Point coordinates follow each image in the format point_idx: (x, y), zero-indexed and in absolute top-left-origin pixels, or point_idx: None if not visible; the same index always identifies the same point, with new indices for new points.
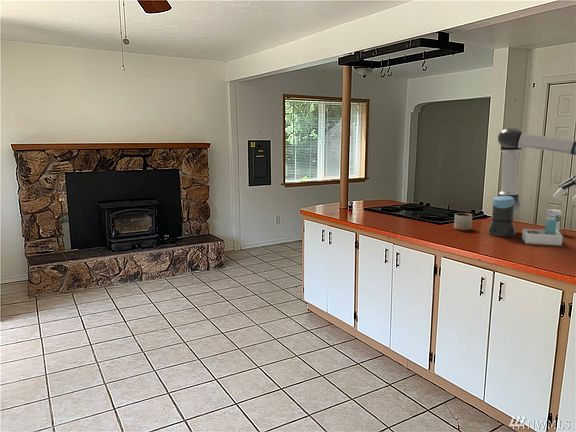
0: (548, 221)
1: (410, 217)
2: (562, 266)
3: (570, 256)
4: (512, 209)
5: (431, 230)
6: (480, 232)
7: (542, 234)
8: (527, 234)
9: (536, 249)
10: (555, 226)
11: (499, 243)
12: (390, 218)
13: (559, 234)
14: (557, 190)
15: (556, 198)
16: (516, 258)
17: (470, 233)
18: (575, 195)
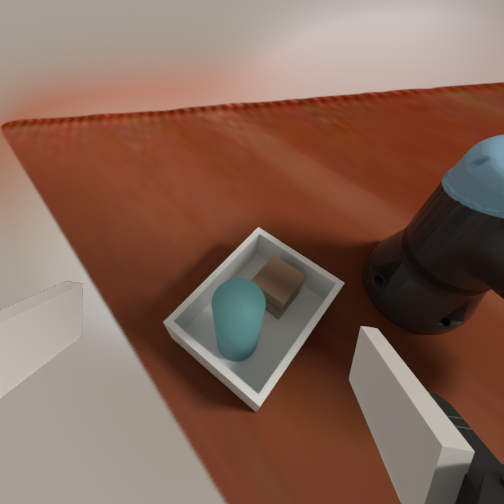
0: (234, 280)
1: None
2: (41, 157)
3: (70, 241)
4: (448, 222)
5: None
6: None
7: (221, 265)
8: (256, 231)
9: (183, 223)
10: (214, 322)
11: (288, 192)
12: None
13: (190, 336)
14: (459, 419)
15: (349, 376)
16: (150, 133)
17: None
18: (35, 302)
